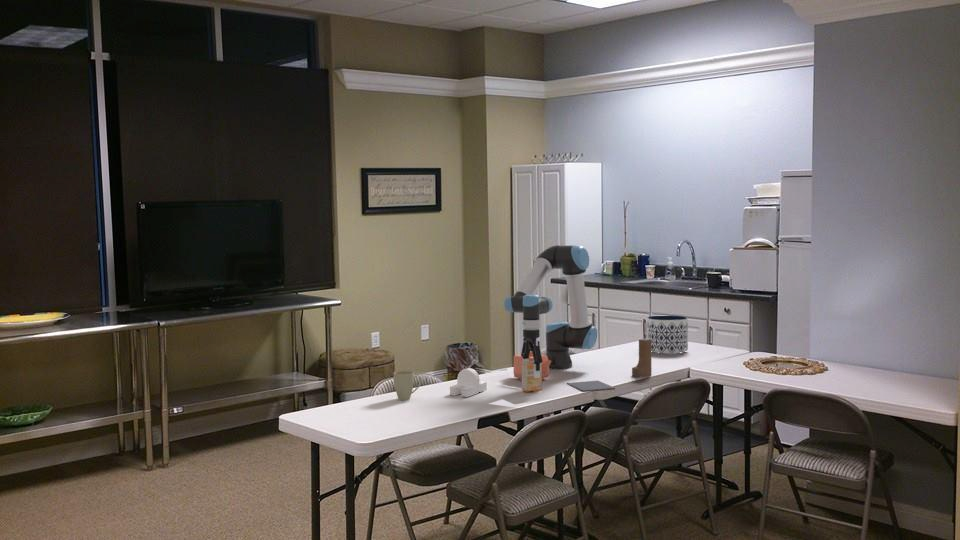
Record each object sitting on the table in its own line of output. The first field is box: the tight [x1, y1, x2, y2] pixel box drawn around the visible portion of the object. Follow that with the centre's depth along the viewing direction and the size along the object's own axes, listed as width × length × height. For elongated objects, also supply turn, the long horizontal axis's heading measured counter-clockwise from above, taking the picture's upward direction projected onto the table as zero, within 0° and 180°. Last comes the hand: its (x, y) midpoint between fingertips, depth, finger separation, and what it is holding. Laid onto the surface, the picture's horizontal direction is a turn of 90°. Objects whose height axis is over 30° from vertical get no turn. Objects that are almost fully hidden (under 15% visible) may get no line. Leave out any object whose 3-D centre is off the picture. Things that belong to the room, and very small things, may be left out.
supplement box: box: [521, 361, 543, 393], centre depth 395 cm, size 8×5×13 cm, turn 117°
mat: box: [566, 380, 616, 393], centre depth 401 cm, size 18×16×1 cm
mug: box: [393, 370, 423, 401], centre depth 380 cm, size 11×10×12 cm
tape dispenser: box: [449, 367, 487, 398], centre depth 394 cm, size 10×18×11 cm, turn 150°
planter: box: [646, 314, 689, 354], centre depth 489 cm, size 22×22×20 cm
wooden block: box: [631, 338, 652, 378], centre depth 423 cm, size 9×4×18 cm, turn 123°
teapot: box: [513, 351, 551, 381], centre depth 417 cm, size 22×13×14 cm, turn 47°
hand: (531, 375), depth 394 cm, fingers open, 13 cm apart
